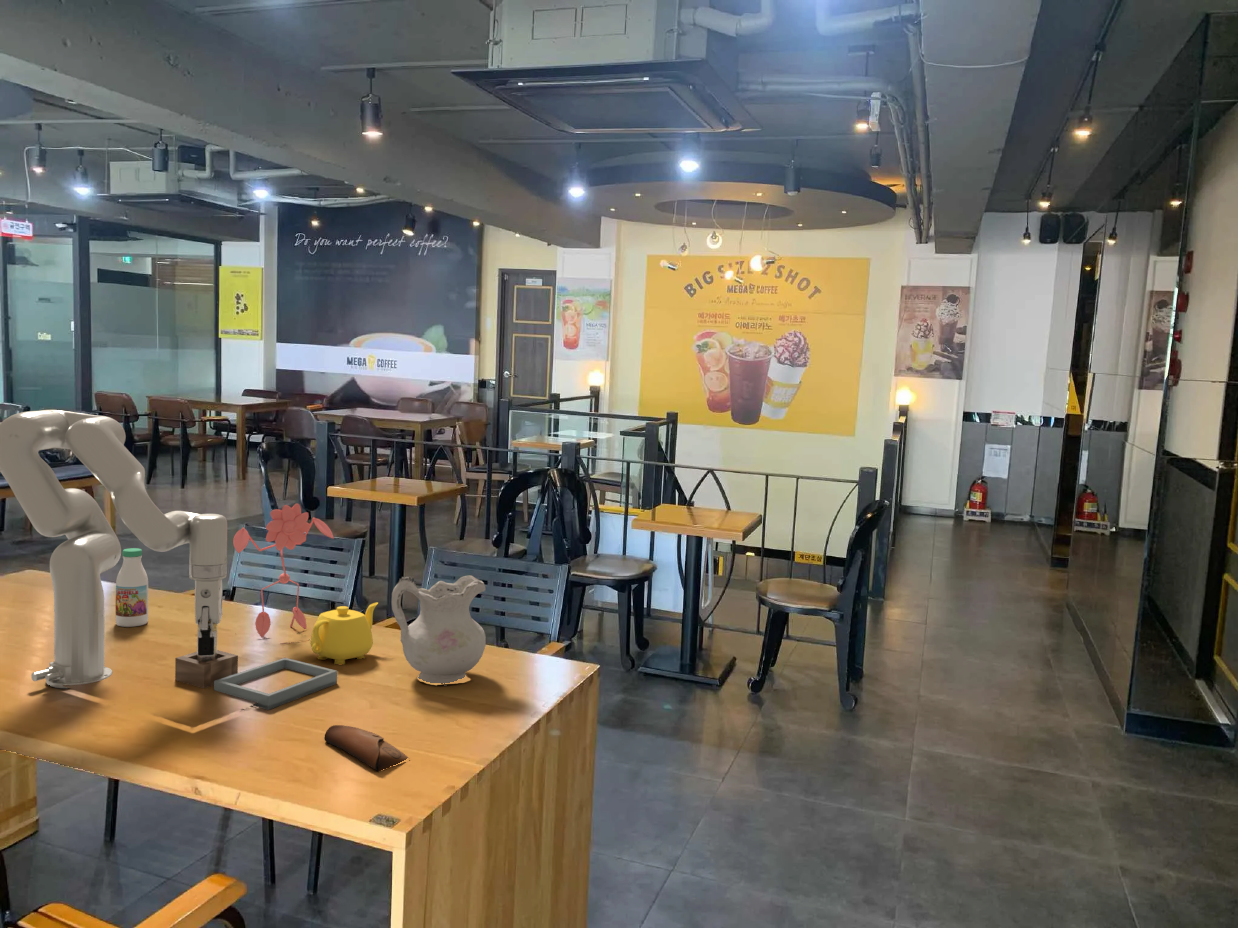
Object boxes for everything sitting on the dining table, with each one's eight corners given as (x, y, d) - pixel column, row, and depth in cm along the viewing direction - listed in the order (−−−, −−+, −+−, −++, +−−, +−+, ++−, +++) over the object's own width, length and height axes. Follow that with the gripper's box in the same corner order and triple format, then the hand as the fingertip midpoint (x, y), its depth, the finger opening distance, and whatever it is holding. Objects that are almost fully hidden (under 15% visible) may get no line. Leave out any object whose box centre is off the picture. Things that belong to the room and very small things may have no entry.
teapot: (294, 659, 228) (295, 608, 227) (358, 642, 244) (360, 594, 243) (331, 672, 220) (333, 619, 219) (395, 653, 237) (397, 604, 236)
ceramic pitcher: (406, 702, 207) (414, 594, 203) (377, 669, 223) (383, 568, 219) (495, 688, 219) (504, 586, 215) (461, 658, 235) (469, 562, 231)
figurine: (224, 636, 242) (228, 502, 238) (317, 621, 261) (322, 497, 257) (250, 652, 232) (255, 513, 228) (345, 635, 250) (351, 506, 246)
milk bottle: (118, 619, 252) (119, 546, 250) (150, 619, 254) (151, 546, 252) (112, 627, 244) (112, 552, 242) (145, 627, 247) (145, 552, 245)
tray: (268, 709, 195) (268, 695, 195) (213, 694, 202) (214, 680, 202) (336, 683, 213) (337, 670, 213) (284, 669, 220) (285, 657, 219)
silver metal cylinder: (205, 682, 206) (206, 624, 204) (192, 679, 208) (193, 621, 206) (220, 677, 209) (221, 620, 208) (207, 674, 211) (208, 617, 210)
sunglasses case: (415, 759, 175) (400, 734, 172) (387, 787, 171) (371, 762, 168) (361, 731, 187) (347, 707, 184) (333, 756, 183) (318, 732, 180)
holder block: (203, 692, 203) (204, 665, 202) (175, 684, 206) (175, 657, 206) (237, 681, 211) (237, 655, 210) (209, 673, 215) (209, 647, 214)
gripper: (223, 578, 199) (222, 662, 201) (229, 562, 215) (228, 640, 217) (184, 579, 197) (184, 664, 199) (193, 562, 213) (192, 641, 214)
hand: (207, 650), depth 208 cm, fingers closed on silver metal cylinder, 4 cm apart
